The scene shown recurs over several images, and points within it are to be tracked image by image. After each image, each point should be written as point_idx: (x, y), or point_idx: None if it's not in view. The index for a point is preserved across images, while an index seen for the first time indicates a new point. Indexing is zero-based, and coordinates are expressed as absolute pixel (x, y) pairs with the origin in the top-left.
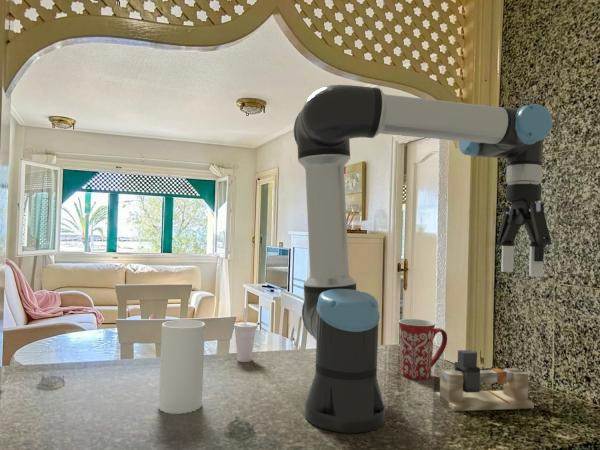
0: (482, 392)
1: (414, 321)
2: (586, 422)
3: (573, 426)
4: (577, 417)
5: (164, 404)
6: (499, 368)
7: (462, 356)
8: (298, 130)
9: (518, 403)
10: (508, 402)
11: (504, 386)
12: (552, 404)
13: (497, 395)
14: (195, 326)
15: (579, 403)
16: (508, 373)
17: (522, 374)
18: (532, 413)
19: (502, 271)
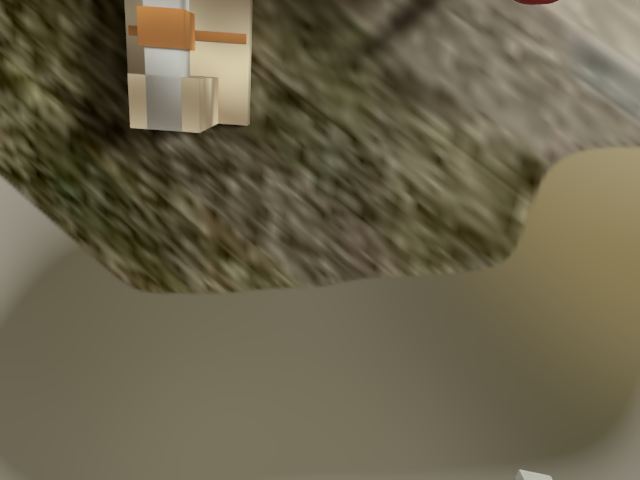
0: (235, 7)
1: None
2: (35, 185)
3: (7, 126)
4: (68, 189)
5: None
6: (182, 46)
7: None
8: None
9: (130, 63)
10: (135, 31)
11: (207, 77)
12: (163, 197)
13: (199, 39)
14: None
15: (166, 280)
16: (146, 57)
17: (129, 103)
18: (97, 79)
19: (520, 471)
